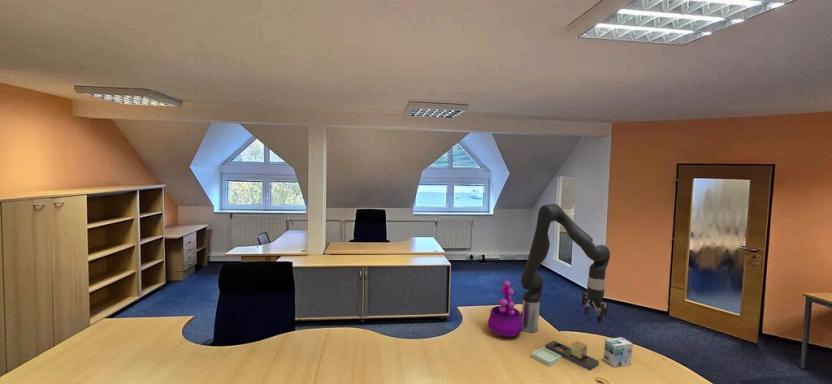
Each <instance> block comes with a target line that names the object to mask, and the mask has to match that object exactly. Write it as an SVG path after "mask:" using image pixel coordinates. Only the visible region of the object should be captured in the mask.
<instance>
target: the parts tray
mask: <svg viewBox="0 0 832 384" xmlns="http://www.w3.org/2000/svg"><path fill="white" fill-rule="evenodd" d="M530 357H531V358H533V360H534V359H535V360H537V361H538V362H540V363H542V364H544V365H546V366H548V367H550V366H552V365H554V364H557V363H558V362H560V361H561V360H562V357H561V355H559V354H557V353H555V352H553V351H551V350H548V349H546V348H545V346H544V347H543V346H542V347H541V348H539V349H536V350H535V351H533V352H531V356H530Z"/></svg>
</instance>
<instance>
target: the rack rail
mask: <svg viewBox="0 0 832 384" xmlns="http://www.w3.org/2000/svg"><path fill="white" fill-rule="evenodd" d="M544 348H546V349H548V350H551V351H553V352H555V353H557V354H559V355H561V358H564V359H566V360H568V361H570V362H572V363H573V364H576V365H578V366H581V367H583V368H584V369H586V370H588V371H592V370H594V369H595V368H596V367H599V364H600V360H598V359H596V358H593V357H591V356H589V355H587V354H586V359H584V360H583V361H580V360H578V359H576V358H574V357H572V356H571V351H572V347H569V346H567V345H565V344H562V343H561V342H558V341H556V340H552V341H550V342H548V343H546V344H544ZM557 348H559V349H561V350H563V351H561V350H559V349H557Z"/></svg>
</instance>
